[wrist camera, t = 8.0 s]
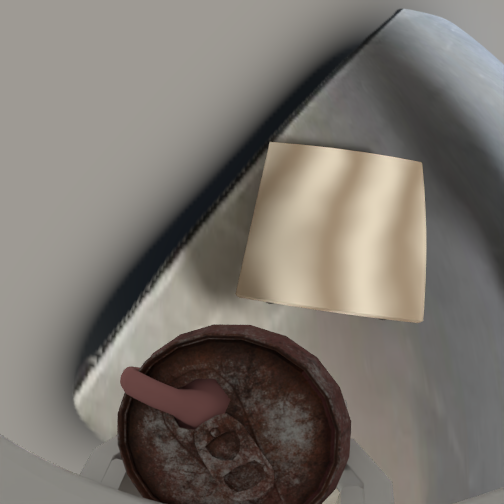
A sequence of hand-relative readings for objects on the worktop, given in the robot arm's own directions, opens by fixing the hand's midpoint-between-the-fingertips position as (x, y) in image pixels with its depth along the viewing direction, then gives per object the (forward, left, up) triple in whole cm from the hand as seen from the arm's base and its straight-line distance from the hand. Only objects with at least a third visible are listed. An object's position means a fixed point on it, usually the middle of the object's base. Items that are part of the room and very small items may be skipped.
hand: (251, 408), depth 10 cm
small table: (-3, -15, -22) cm, 26 cm away
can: (0, +1, -10) cm, 10 cm away
